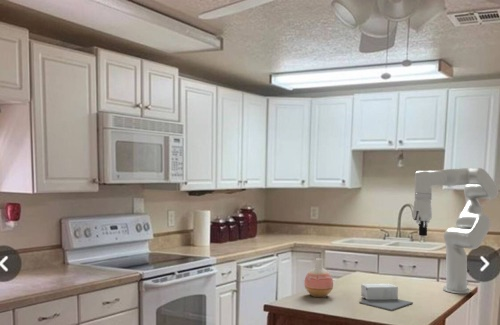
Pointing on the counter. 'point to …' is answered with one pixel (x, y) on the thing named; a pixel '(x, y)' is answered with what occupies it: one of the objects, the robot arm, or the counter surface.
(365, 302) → the mat
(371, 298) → the skincare box
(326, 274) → the vase
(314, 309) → the counter surface
